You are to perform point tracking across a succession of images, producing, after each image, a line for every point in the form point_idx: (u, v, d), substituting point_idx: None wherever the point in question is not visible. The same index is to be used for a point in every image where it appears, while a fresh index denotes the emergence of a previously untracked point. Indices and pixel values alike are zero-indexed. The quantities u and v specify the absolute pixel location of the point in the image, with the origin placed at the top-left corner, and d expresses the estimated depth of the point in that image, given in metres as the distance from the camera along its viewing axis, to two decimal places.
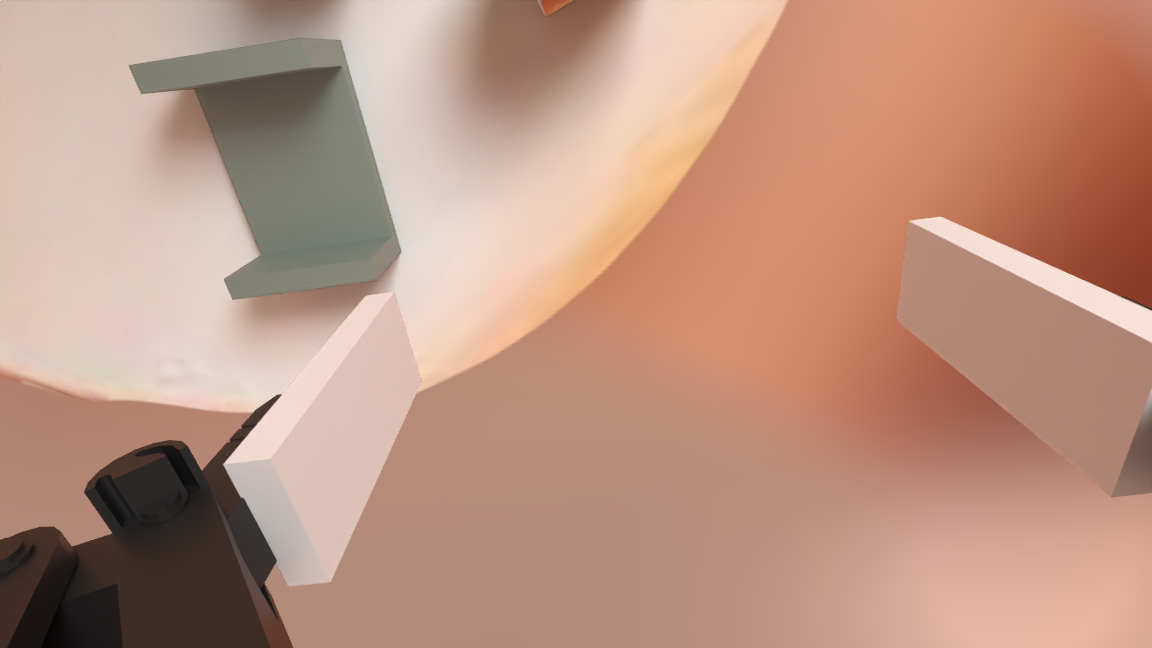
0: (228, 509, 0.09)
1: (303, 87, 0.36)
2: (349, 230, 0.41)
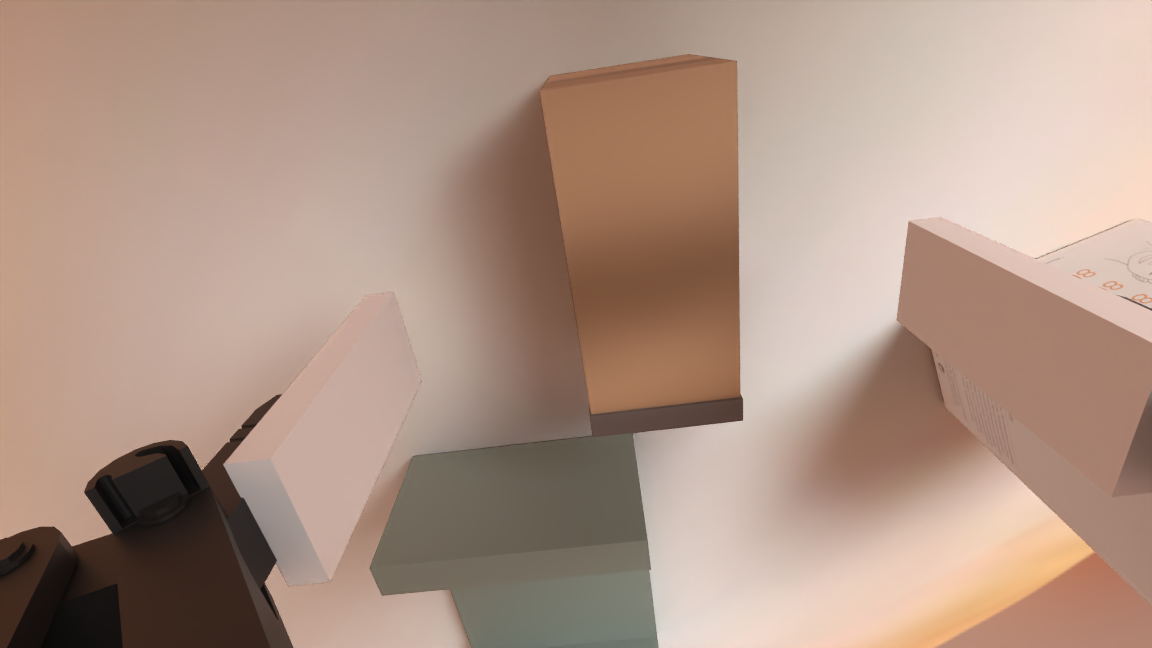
0: (228, 509, 0.09)
1: None
2: (600, 631, 0.29)
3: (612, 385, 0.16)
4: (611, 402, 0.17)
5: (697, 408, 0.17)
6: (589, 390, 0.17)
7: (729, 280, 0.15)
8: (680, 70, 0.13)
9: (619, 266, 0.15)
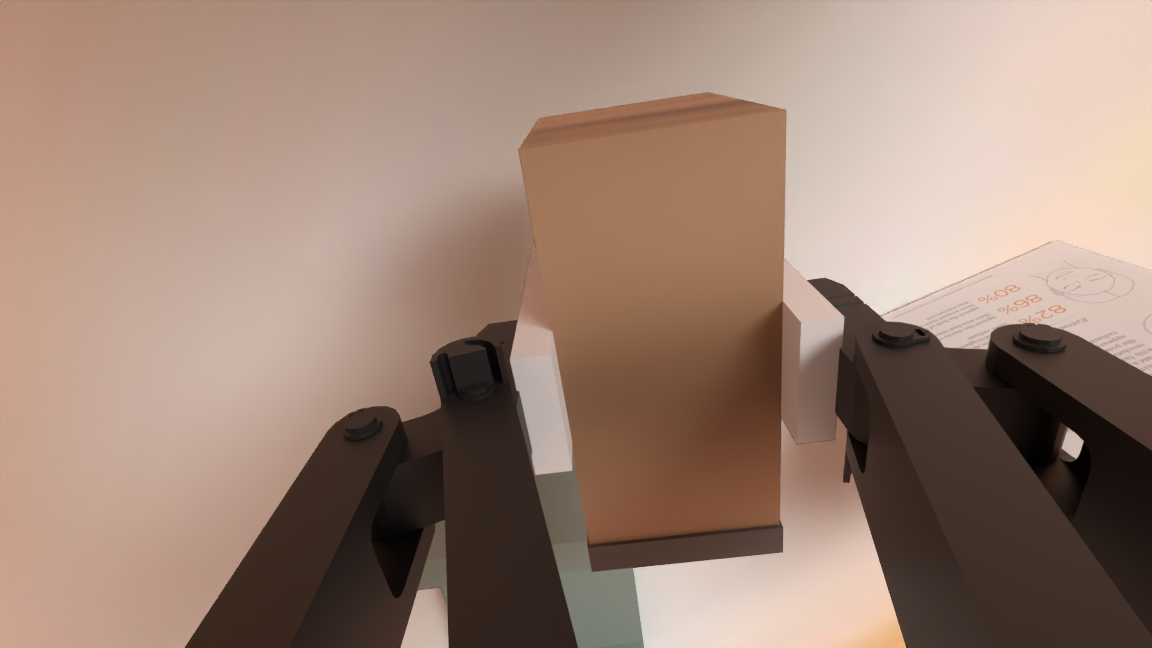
0: None
1: None
2: (588, 637, 0.31)
3: (616, 511, 0.13)
4: (615, 530, 0.13)
5: (725, 538, 0.13)
6: (587, 516, 0.13)
7: (769, 386, 0.11)
8: (709, 122, 0.09)
9: (625, 370, 0.11)
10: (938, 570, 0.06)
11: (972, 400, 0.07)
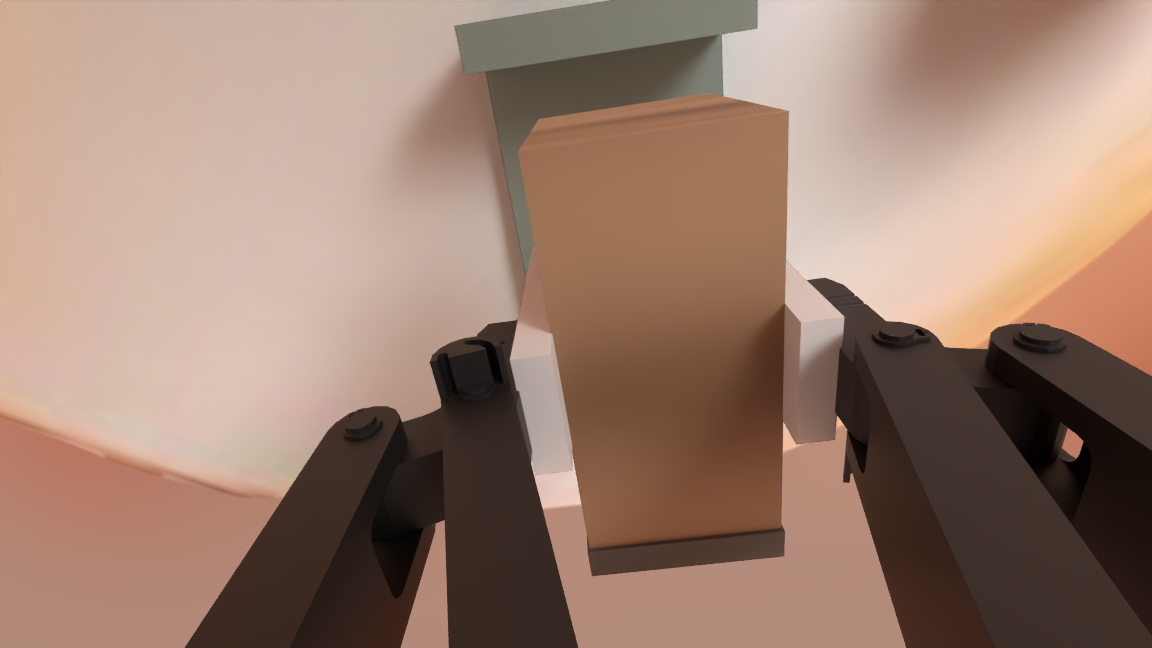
0: None
1: (652, 66, 0.24)
2: None
3: (616, 515, 0.13)
4: (615, 534, 0.13)
5: (726, 542, 0.13)
6: (587, 520, 0.13)
7: (771, 389, 0.11)
8: (710, 123, 0.09)
9: (626, 373, 0.11)
10: (939, 571, 0.06)
11: (972, 400, 0.07)
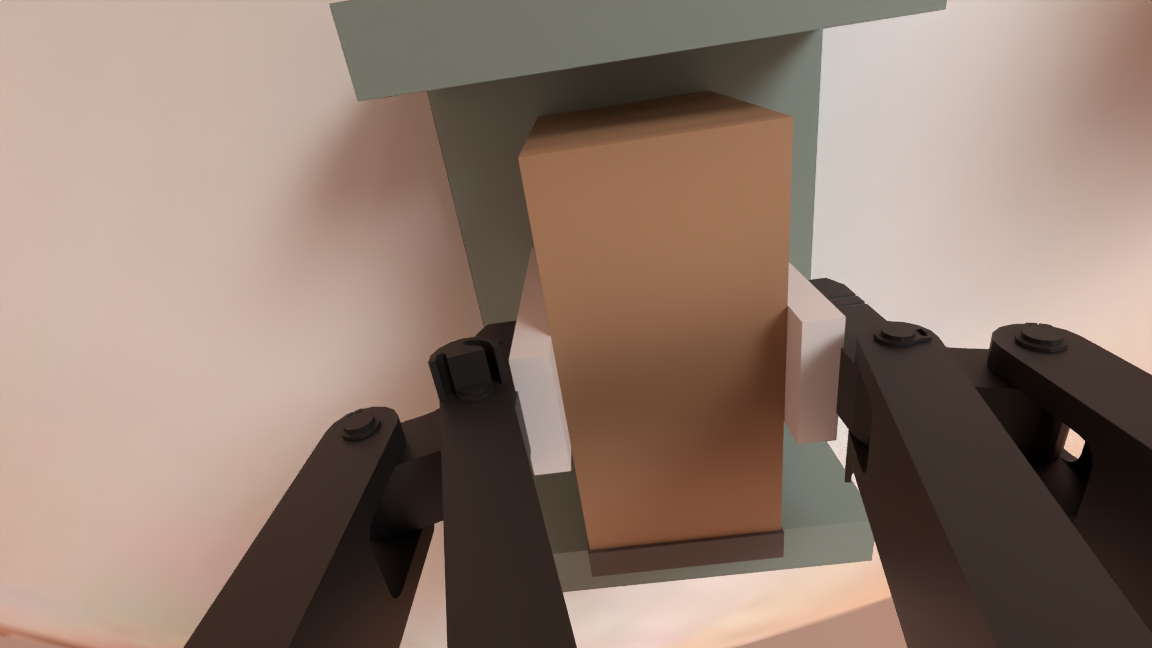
0: None
1: (703, 80, 0.14)
2: None
3: (616, 517, 0.13)
4: (615, 536, 0.13)
5: (726, 544, 0.13)
6: (587, 523, 0.13)
7: (772, 394, 0.11)
8: (714, 129, 0.09)
9: (626, 378, 0.11)
10: (939, 571, 0.06)
11: (974, 400, 0.07)
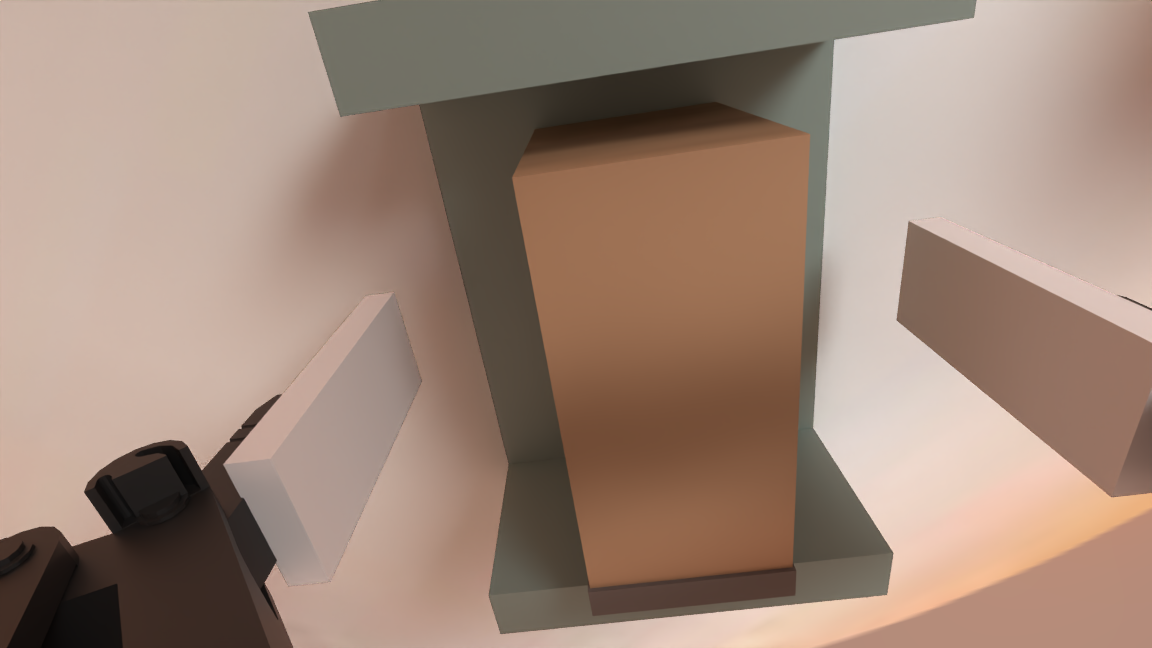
0: (228, 509, 0.09)
1: (709, 90, 0.14)
2: None
3: (618, 554, 0.12)
4: (617, 574, 0.12)
5: (735, 582, 0.12)
6: (587, 560, 0.12)
7: (784, 427, 0.11)
8: (724, 147, 0.08)
9: (630, 410, 0.10)
10: None
11: None
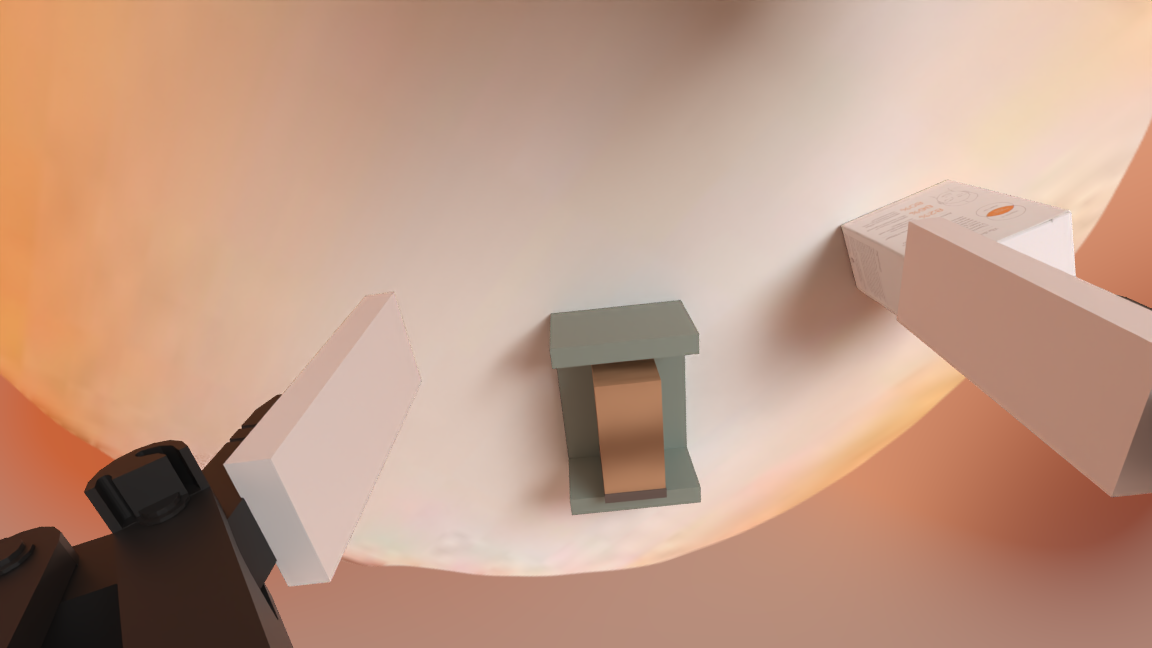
0: (228, 509, 0.09)
1: None
2: None
3: (614, 482, 0.41)
4: (613, 489, 0.41)
5: (648, 492, 0.41)
6: (604, 484, 0.41)
7: (660, 445, 0.39)
8: (642, 382, 0.37)
9: (619, 440, 0.39)
10: None
11: None
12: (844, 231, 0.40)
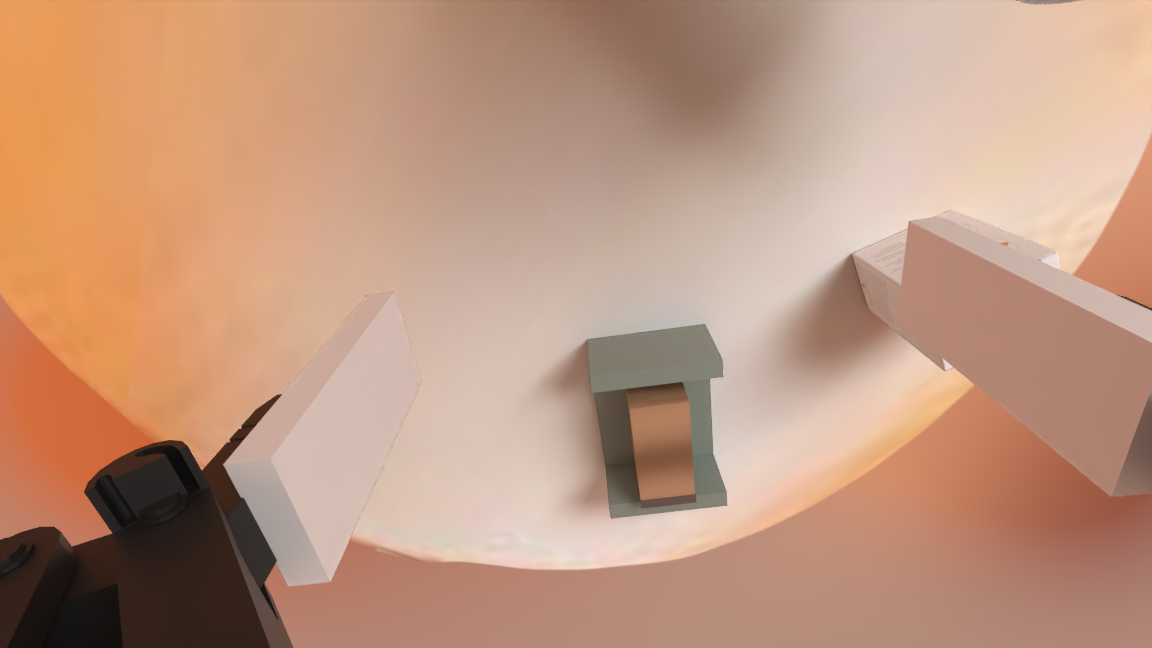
0: (228, 509, 0.09)
1: None
2: None
3: (648, 490, 0.46)
4: (648, 496, 0.46)
5: (679, 498, 0.46)
6: (640, 492, 0.46)
7: (689, 458, 0.44)
8: (672, 403, 0.42)
9: (652, 454, 0.44)
10: None
11: None
12: (855, 259, 0.44)
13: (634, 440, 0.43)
